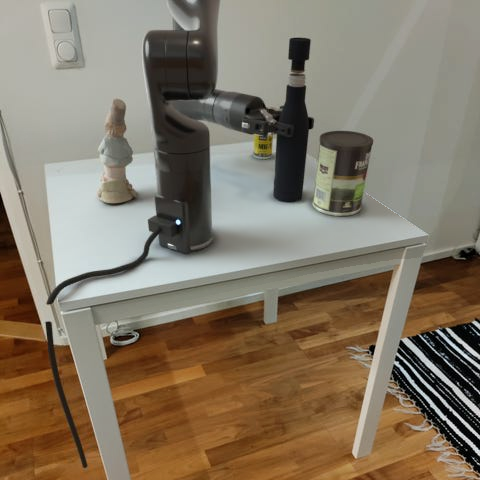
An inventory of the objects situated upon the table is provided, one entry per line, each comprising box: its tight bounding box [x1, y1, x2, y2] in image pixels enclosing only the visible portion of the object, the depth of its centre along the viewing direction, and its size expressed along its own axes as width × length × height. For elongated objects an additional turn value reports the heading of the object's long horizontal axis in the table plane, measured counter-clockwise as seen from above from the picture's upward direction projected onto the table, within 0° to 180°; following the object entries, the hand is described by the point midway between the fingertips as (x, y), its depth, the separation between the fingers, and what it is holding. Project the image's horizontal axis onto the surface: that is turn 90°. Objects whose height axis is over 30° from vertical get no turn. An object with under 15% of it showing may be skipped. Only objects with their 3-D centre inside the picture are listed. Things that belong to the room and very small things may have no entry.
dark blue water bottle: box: [272, 37, 312, 203], centre depth 94 cm, size 6×6×30 cm
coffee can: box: [311, 130, 374, 217], centre depth 95 cm, size 10×10×14 cm
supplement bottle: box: [253, 133, 274, 160], centre depth 121 cm, size 5×5×8 cm
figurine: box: [97, 98, 138, 204], centre depth 96 cm, size 9×8×20 cm
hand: (302, 127), depth 93 cm, fingers closed on dark blue water bottle, 6 cm apart
